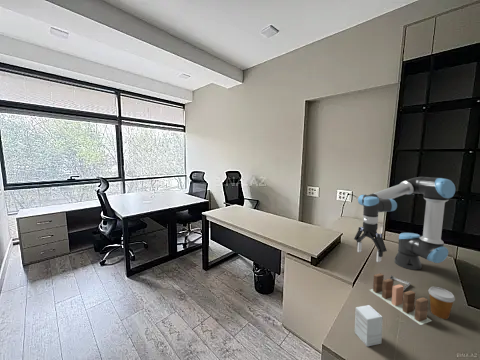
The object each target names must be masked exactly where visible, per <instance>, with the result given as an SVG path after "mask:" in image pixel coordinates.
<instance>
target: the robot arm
mask: <svg viewBox="0 0 480 360" xmlns="http://www.w3.org/2000/svg"><path fill="white" fill-rule="evenodd" d="M455 185H456V184H454V182H453V181H452V180H451V179H448V178H443V177H429V176H418V177H417V176H416V177H413V178H409V179H406V180H403V181H401V182H400V183H399V184H396V185H393V186H391V187H388V188H384V189H382V190H379V191H376V192H373V193H370V194H361V195H359V196H358V197H357V201H358V204H359V205H361V206H363V214H362V215H363V217H362V221H363V222H362V226H360V227H358V229H357V232H356V234H355V235H354V238H353V239H354V240H355V241H356V247H357V253H361V252H363V242H362V241H363V240H364V239H365V238H366V237H367V238H368V239H371V241H372V242H373V243H374V245H375V247H376V249H377V250H376V263H380V262H382V257H383V255H384V253H385V252H387V247H386V244H385V241H384V239H383V234H382V233H378V226H379V213H385V212H386V213H387V212H388V213H389V212H390V213H391V212H394V211H396V210H397V208H398V202H396V200H395V199H396V198H399V197H402V196H404V195H412V194H418V195H419V194H420V195H423V199H424V201H425V209H424V220H423V228H422V230H423V231H422V235H420V234H418V233H414V232H401V233H399V235H398V246H397V247H398V248H397V251H398V252H396V256H395V257H394V263H395V265H397V266H399V267H402V268H404V269H407V270H413V271H417V270H418V271H419V270H421V269H422V266H423V265H422V262H421V259H420V258H423V259H425V260H427V261H429V262H432V263H435V264H439V263H442V262H444V261H445V260H446V259H447V258H448V256H449V249H448V248H447V247H446V246H444V244H445V243H444V241H443V240H442V231H443V221H444V215H445V205H446V202H448V201H450V200H449V199H451V198H453V197H454V195H455V193H456V186H455Z"/></svg>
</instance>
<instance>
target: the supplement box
mask: <svg viewBox="0 0 480 360" xmlns="http://www.w3.org/2000/svg"><path fill="white" fill-rule="evenodd" d="M354 311H355V313H354V316H355V317H354V318H355V319H354V333H355V335H356V336H357V337H358V338H359V339H360V341H362V343H363V344H364V345H365V347H370V346H375V345H379V344H380V345H381V344H382V338H383V316H382V315H381V314H380V313H379V312H378V311H377V310H376V309H374V307H372V306H371V305H370V304H367V305H361V306H356V307H355V310H354Z"/></svg>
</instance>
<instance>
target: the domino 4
mask: <svg viewBox="0 0 480 360" xmlns="http://www.w3.org/2000/svg"><path fill="white" fill-rule="evenodd" d="M415 305H416V292H414V291H413V290H408V291H405V292H404V291H403V311H404V312H405V313H410V312H413V311H414V309H415Z"/></svg>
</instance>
